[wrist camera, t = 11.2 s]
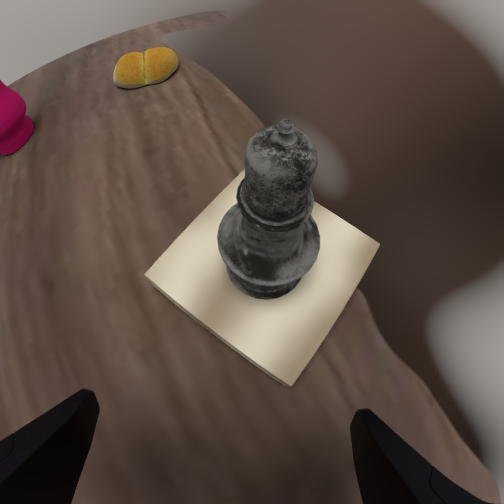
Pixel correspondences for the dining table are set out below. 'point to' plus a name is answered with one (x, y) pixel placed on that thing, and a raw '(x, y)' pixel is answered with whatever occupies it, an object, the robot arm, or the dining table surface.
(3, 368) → the dining table surface
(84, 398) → the robot arm
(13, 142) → the pepper mill
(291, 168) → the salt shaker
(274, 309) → the plate
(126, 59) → the bread roll
